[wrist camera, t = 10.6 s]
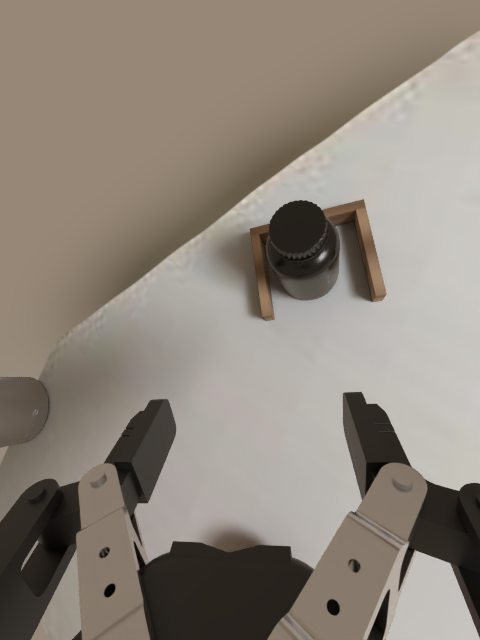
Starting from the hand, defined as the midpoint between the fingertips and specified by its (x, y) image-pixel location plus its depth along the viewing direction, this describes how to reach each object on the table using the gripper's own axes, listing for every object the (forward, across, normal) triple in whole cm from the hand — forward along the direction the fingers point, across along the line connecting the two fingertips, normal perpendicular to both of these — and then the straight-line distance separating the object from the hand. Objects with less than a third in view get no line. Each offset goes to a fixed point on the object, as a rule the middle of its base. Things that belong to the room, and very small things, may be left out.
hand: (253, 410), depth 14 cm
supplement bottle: (+25, -5, +1) cm, 25 cm away
